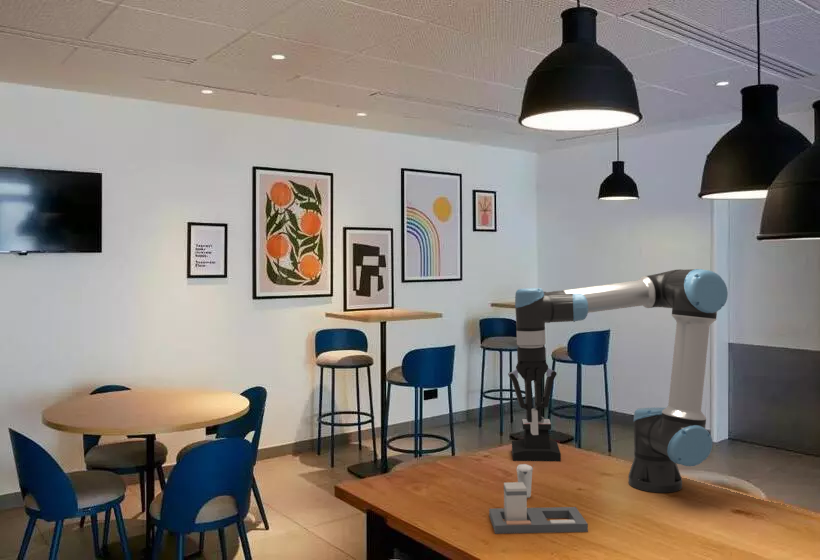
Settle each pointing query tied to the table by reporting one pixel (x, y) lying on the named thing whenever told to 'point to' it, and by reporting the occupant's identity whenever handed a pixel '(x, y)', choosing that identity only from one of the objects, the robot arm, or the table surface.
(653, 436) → the robot arm
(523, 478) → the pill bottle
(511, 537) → the table surface
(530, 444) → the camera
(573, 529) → the socket block
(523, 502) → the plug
